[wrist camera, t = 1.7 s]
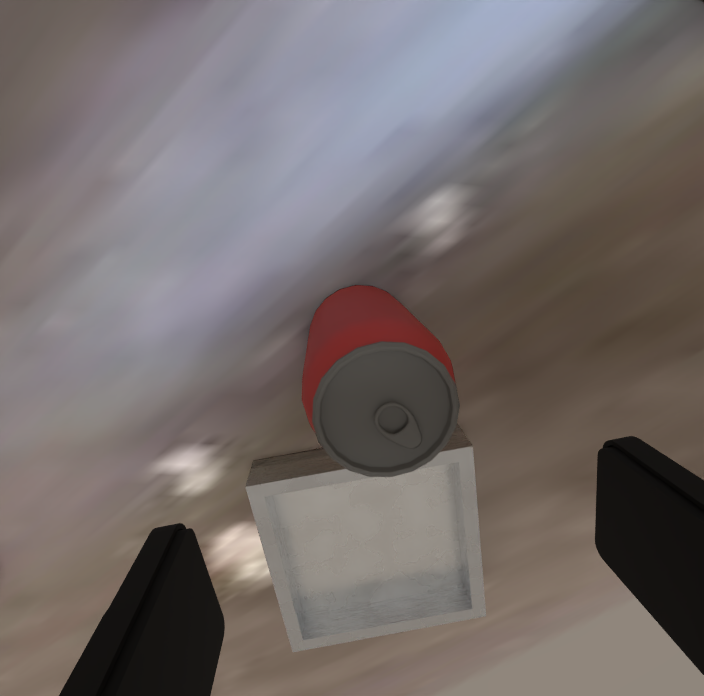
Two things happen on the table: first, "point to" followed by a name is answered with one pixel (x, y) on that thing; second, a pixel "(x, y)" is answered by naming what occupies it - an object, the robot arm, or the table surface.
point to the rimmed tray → (369, 544)
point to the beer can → (377, 384)
